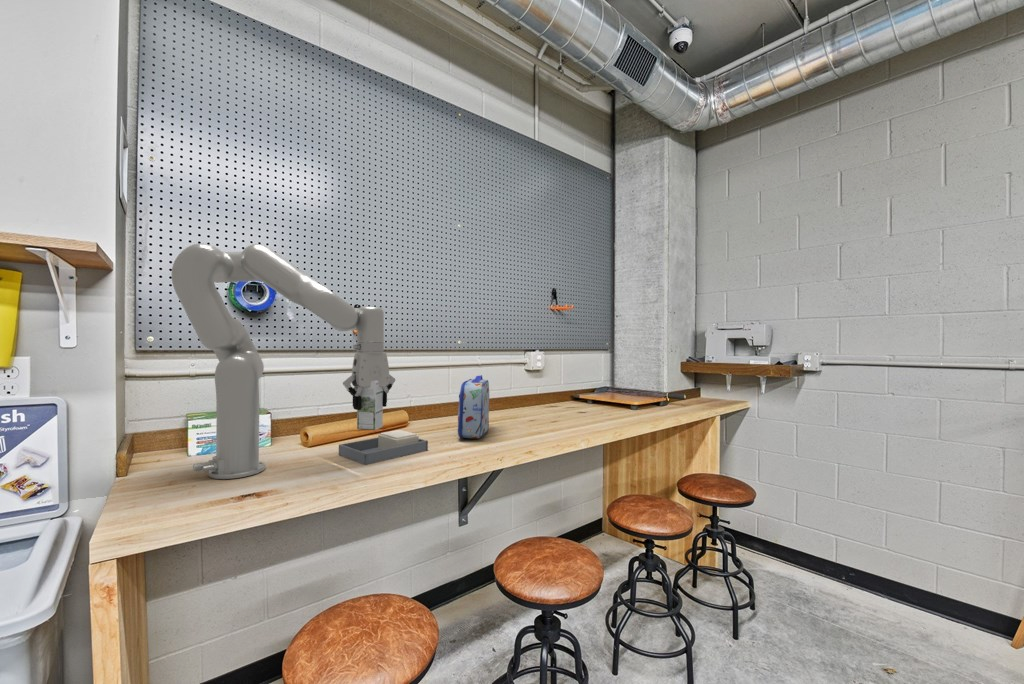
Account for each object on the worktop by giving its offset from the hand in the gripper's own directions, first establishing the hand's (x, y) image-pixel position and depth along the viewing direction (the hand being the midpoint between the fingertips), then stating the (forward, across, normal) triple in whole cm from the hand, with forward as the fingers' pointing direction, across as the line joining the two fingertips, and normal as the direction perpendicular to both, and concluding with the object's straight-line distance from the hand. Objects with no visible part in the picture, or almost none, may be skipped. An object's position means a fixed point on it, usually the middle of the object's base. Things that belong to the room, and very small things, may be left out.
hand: (370, 407), depth 125 cm
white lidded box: (+14, +10, 0) cm, 17 cm away
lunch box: (+16, +45, +2) cm, 48 cm away
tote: (+15, +5, 0) cm, 16 cm away
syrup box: (+6, 0, 0) cm, 6 cm away
